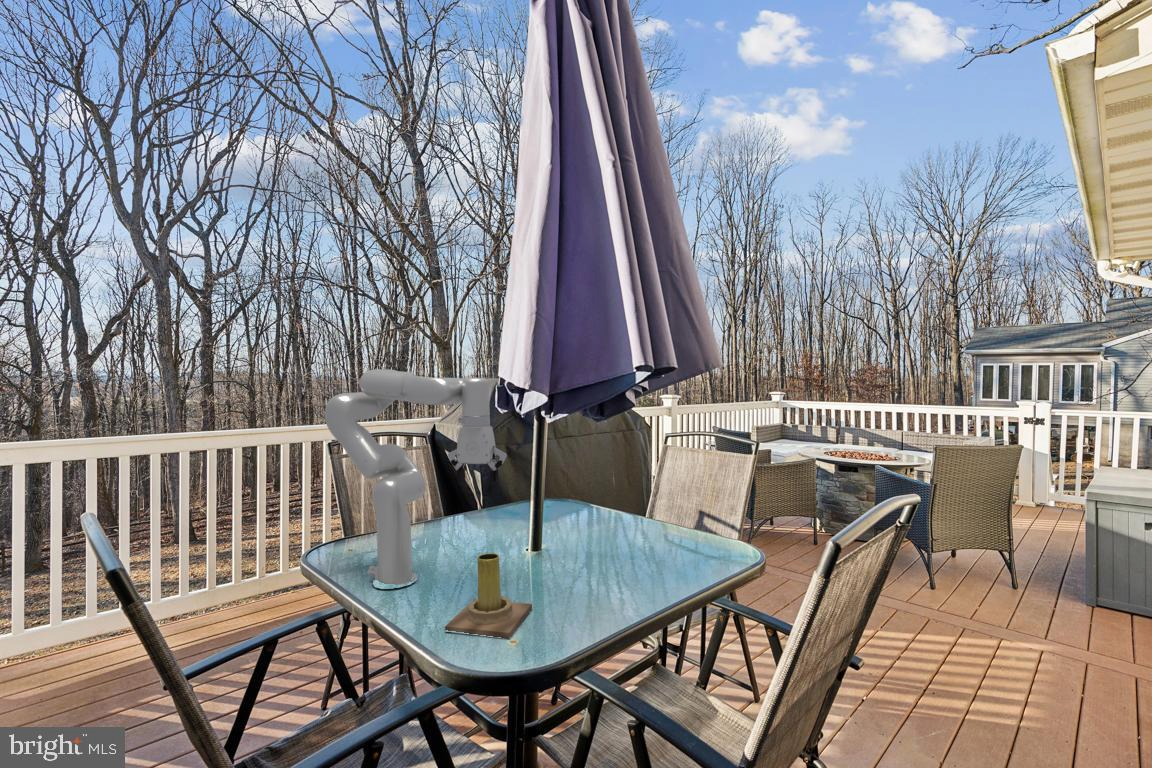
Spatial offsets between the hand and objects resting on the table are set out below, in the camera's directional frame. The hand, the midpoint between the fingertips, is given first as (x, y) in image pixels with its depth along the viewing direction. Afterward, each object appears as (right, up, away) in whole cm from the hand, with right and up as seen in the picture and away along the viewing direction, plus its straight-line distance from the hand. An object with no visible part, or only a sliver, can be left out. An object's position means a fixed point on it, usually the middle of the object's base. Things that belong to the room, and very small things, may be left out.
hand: (477, 483), depth 149 cm
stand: (+6, -30, -18) cm, 36 cm away
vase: (+6, -29, -18) cm, 34 cm away
